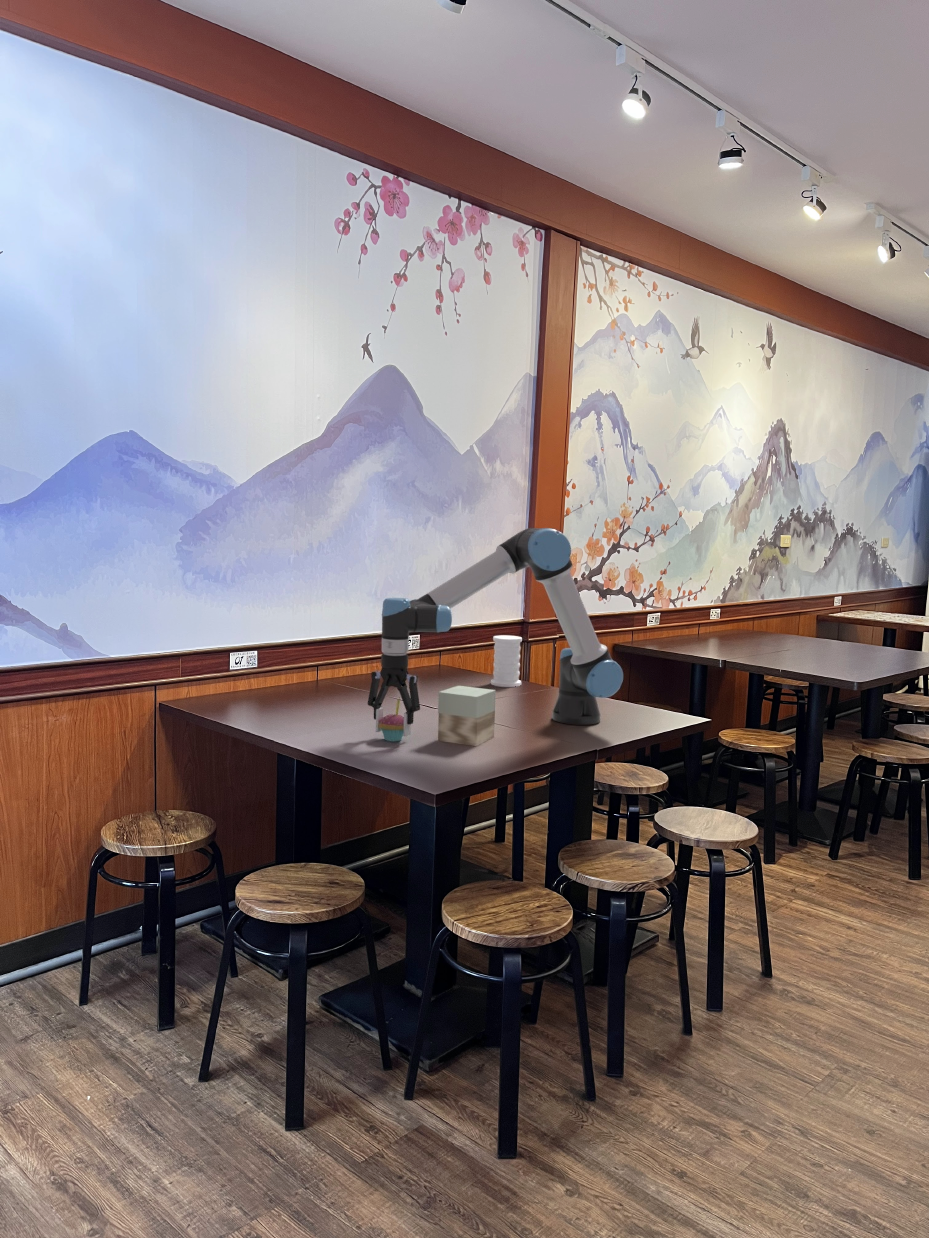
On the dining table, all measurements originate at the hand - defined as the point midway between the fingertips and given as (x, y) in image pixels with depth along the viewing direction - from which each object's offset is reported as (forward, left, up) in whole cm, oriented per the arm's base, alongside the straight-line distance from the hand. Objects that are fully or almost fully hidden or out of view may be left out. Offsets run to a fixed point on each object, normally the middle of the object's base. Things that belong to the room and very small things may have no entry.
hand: (393, 733), depth 259 cm
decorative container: (+7, -98, -2) cm, 98 cm away
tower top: (-17, -12, +6) cm, 22 cm away
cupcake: (0, 0, -2) cm, 2 cm away
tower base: (-17, -12, -2) cm, 21 cm away
